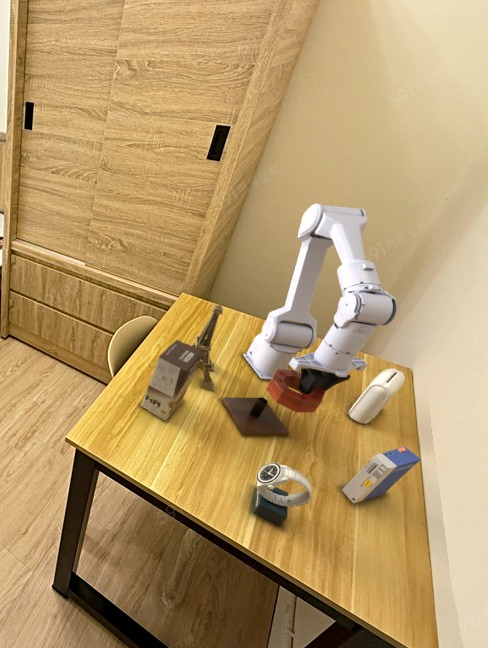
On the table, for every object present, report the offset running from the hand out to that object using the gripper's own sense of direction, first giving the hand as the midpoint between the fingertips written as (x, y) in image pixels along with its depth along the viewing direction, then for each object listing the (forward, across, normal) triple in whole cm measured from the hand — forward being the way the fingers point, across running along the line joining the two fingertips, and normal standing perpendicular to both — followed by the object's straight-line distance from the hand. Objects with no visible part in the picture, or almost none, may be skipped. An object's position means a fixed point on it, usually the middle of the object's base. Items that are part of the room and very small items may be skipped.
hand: (309, 391), depth 88 cm
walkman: (+10, +4, -17) cm, 20 cm away
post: (+10, -8, +1) cm, 13 cm away
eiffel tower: (+10, -16, +16) cm, 25 cm away
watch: (+10, -17, -20) cm, 28 cm away
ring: (+1, -3, 0) cm, 4 cm away
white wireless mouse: (+10, +20, +3) cm, 22 cm away
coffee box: (+10, -28, +5) cm, 30 cm away
